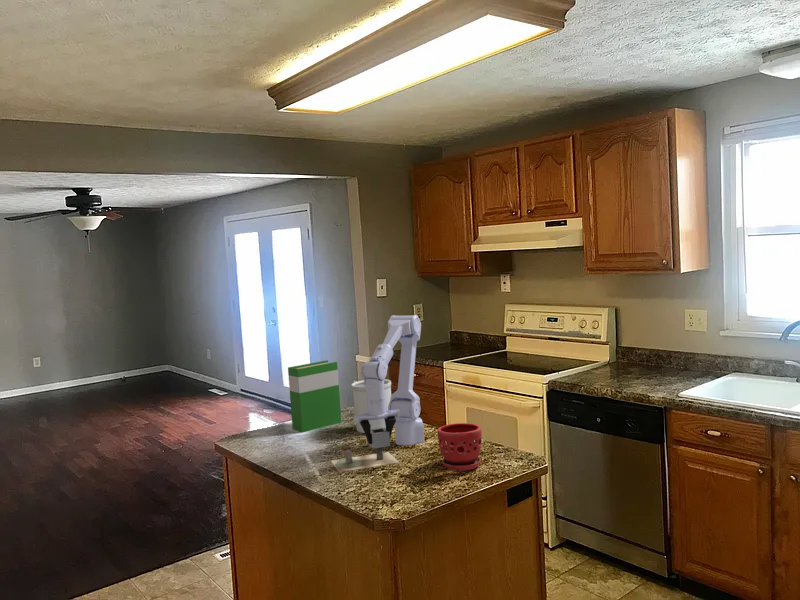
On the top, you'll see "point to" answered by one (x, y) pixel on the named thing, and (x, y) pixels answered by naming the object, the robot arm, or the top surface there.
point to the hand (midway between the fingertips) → (378, 441)
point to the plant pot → (460, 445)
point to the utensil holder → (361, 403)
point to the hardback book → (314, 395)
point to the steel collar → (379, 438)
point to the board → (363, 460)
